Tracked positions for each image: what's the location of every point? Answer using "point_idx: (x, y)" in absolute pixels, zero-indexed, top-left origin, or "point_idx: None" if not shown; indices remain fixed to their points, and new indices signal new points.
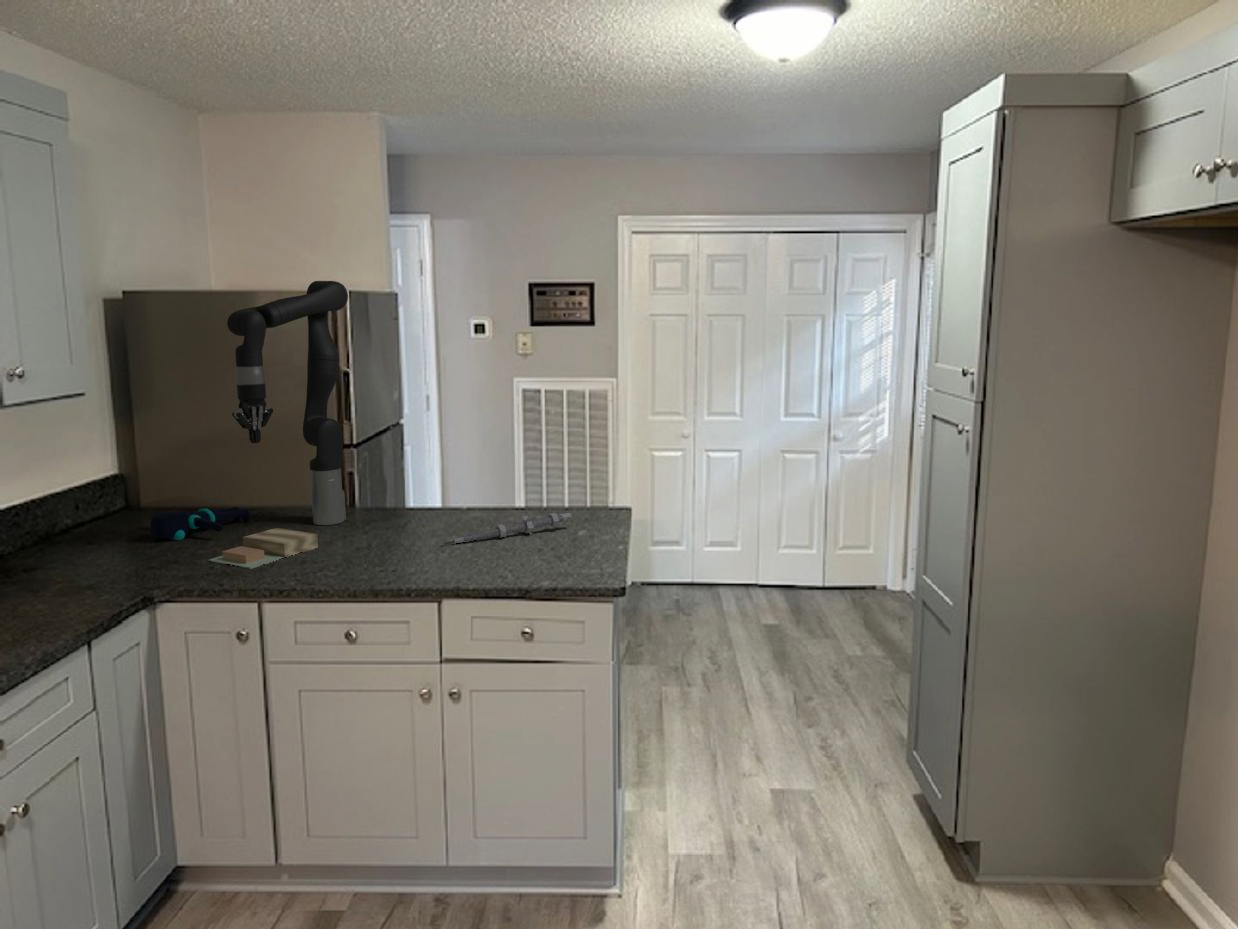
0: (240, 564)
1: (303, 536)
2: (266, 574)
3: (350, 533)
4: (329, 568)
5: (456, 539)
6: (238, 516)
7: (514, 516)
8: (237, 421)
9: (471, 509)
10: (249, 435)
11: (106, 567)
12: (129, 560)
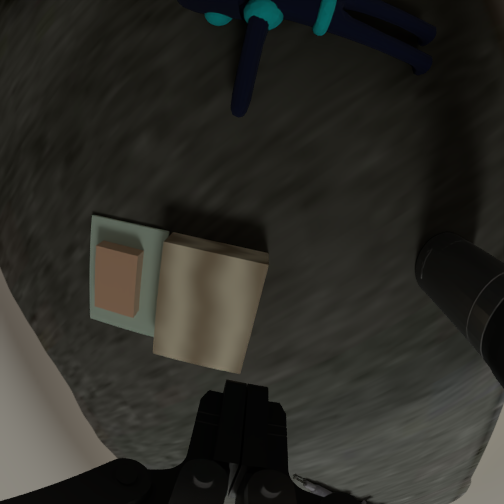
0: (94, 292)
1: (212, 360)
2: (86, 351)
3: (357, 355)
4: (147, 412)
5: (306, 487)
6: (397, 58)
7: (446, 465)
8: (28, 494)
9: (493, 414)
10: (194, 427)
11: (28, 72)
12: (63, 65)
